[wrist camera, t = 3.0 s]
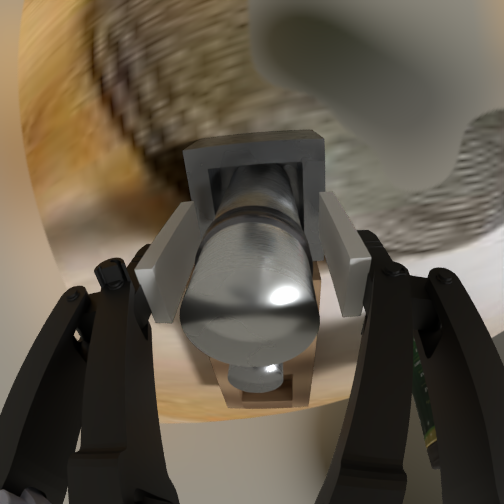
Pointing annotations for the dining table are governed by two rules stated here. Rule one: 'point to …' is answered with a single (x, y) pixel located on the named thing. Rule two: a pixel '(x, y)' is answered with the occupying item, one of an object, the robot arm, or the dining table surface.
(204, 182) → the socket block
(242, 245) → the grey metal cylinder
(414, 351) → the coffee jar
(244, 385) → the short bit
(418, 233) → the dining table surface
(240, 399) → the rack
